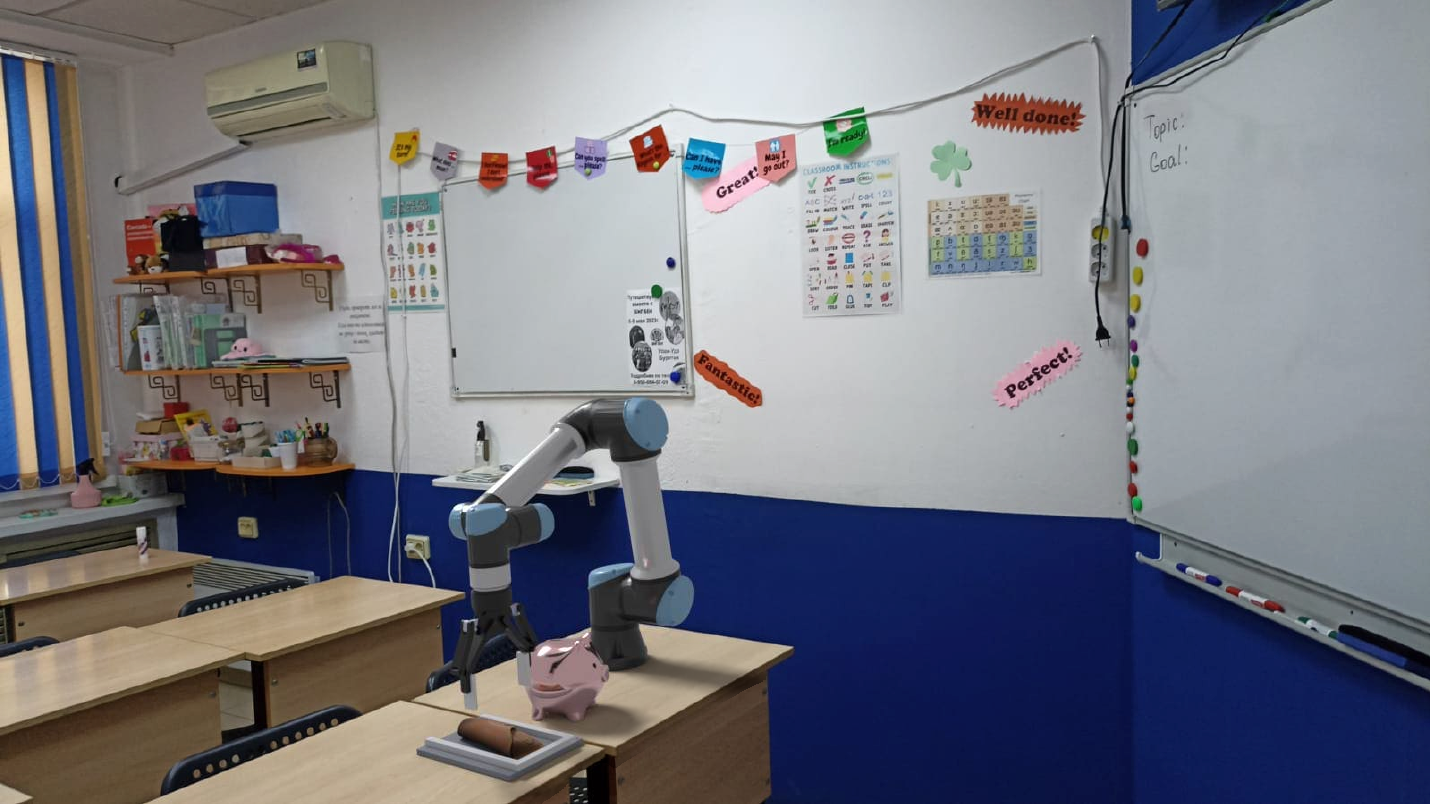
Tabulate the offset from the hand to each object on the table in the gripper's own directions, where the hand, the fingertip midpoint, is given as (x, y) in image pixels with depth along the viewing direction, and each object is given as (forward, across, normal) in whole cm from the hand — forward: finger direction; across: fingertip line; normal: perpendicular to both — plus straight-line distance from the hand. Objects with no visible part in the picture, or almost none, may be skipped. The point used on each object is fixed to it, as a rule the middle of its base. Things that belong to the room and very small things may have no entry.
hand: (498, 696), depth 186 cm
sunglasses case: (+9, 0, 0) cm, 9 cm away
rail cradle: (+10, +1, 0) cm, 10 cm away
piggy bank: (+10, -20, -2) cm, 23 cm away
